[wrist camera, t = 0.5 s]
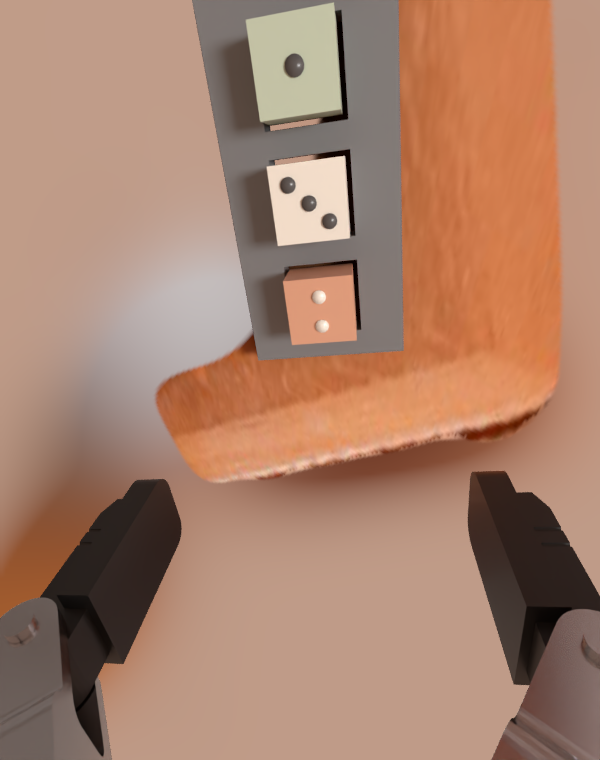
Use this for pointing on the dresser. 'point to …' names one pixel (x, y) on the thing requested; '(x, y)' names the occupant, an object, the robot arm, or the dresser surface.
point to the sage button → (296, 64)
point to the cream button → (310, 201)
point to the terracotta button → (321, 304)
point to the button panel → (358, 134)
